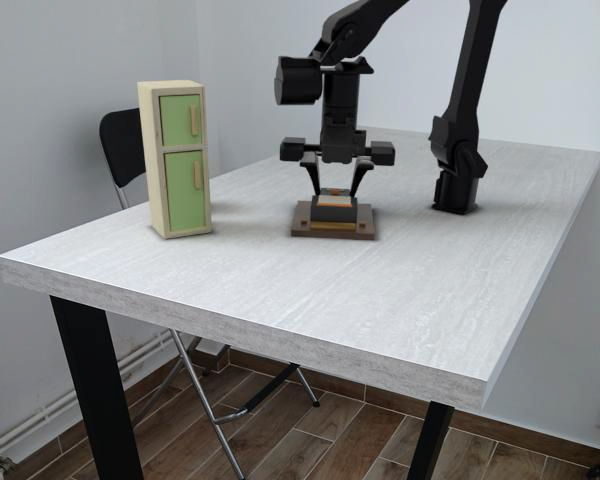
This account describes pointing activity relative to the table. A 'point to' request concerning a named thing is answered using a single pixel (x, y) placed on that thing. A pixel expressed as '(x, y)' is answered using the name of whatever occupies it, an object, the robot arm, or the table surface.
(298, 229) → the stand
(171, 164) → the toy refrigerator
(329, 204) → the penguin
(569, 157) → the table surface
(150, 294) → the table surface
